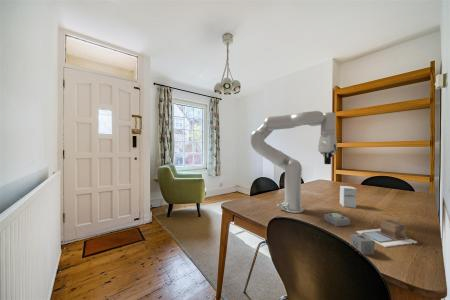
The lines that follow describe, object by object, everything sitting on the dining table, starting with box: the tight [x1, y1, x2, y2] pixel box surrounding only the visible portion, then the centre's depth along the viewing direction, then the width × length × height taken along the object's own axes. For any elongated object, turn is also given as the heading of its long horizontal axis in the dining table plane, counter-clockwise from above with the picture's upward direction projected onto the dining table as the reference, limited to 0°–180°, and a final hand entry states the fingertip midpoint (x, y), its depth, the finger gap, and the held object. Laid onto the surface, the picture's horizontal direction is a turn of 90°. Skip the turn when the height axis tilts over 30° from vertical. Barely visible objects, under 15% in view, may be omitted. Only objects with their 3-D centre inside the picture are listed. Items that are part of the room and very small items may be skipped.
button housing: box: [323, 213, 351, 227], centre depth 89 cm, size 8×8×3 cm
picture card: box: [355, 228, 418, 248], centre depth 74 cm, size 16×12×1 cm
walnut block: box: [380, 219, 407, 239], centre depth 74 cm, size 6×6×6 cm
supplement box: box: [339, 185, 357, 209], centre depth 115 cm, size 7×7×13 cm
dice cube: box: [350, 233, 376, 255], centre depth 65 cm, size 5×5×5 cm
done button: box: [331, 212, 343, 219], centre depth 89 cm, size 4×4×4 cm
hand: (327, 164), depth 103 cm, fingers closed
